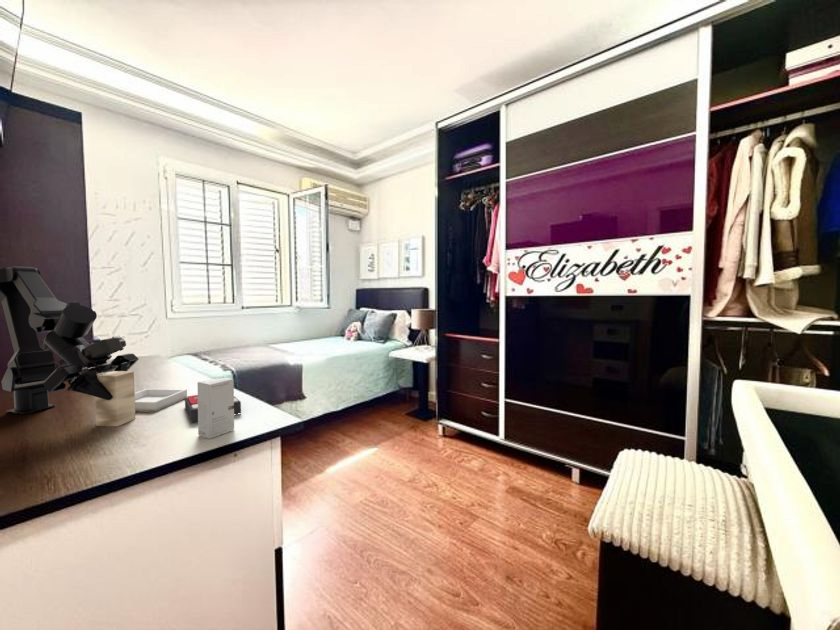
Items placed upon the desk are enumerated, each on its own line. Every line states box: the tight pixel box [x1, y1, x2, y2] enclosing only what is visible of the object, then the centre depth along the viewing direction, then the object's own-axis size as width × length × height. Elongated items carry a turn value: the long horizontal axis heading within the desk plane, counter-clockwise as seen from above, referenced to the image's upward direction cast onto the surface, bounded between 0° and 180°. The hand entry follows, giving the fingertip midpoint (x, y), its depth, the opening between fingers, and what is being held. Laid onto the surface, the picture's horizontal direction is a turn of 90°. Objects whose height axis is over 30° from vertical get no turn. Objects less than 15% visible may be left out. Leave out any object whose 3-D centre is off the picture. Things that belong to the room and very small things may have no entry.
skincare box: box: [197, 376, 235, 440], centre depth 77 cm, size 6×4×12 cm
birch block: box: [94, 370, 136, 427], centre depth 82 cm, size 5×5×12 cm
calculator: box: [184, 394, 242, 424], centre depth 91 cm, size 11×4×15 cm
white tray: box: [135, 388, 188, 413], centre depth 96 cm, size 12×12×2 cm
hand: (121, 395), depth 82 cm, fingers closed on birch block, 5 cm apart
